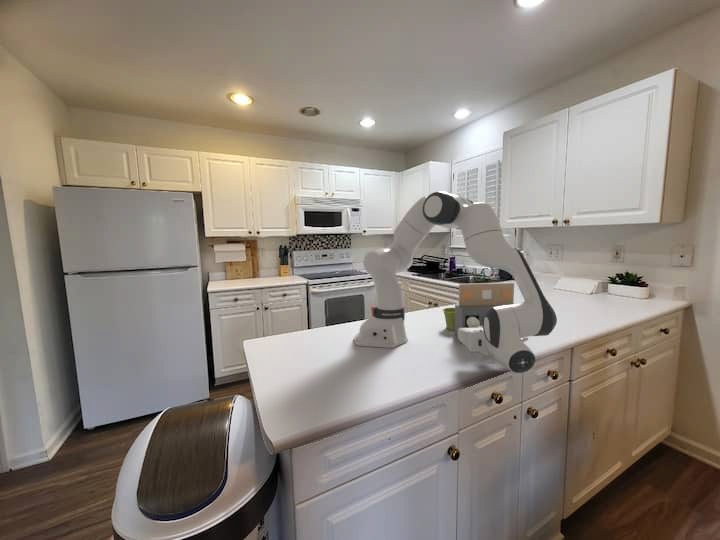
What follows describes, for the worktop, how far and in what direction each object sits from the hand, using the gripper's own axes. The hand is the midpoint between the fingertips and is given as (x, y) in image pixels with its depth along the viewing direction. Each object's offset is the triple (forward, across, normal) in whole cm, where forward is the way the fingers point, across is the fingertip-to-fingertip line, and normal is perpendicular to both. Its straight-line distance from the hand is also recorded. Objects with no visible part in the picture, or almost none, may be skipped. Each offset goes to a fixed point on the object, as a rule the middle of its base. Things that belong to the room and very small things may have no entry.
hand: (481, 327), depth 107 cm
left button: (+9, 0, +3) cm, 9 cm away
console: (+14, -8, +10) cm, 19 cm away
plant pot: (+29, +2, +10) cm, 31 cm away
